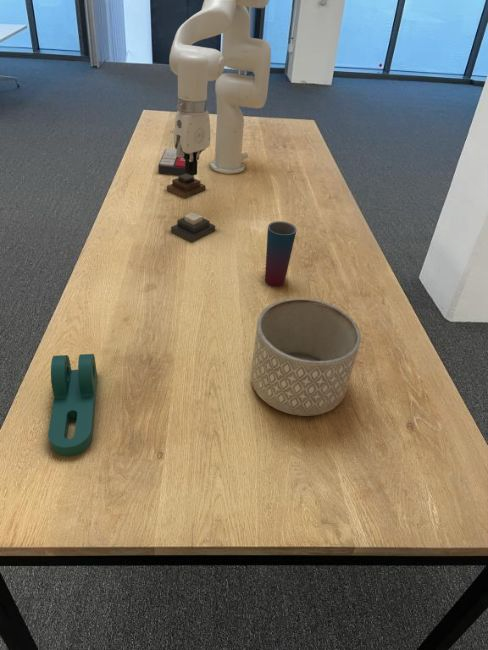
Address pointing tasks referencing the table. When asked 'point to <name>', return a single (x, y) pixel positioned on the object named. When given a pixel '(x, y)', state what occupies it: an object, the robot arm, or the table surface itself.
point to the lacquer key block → (192, 229)
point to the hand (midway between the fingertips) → (191, 173)
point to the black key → (186, 178)
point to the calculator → (171, 163)
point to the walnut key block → (185, 188)
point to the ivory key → (193, 218)
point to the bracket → (72, 403)
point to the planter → (303, 355)
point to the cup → (278, 251)
